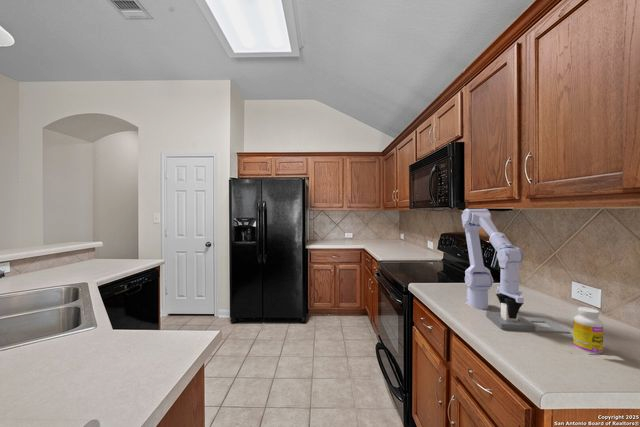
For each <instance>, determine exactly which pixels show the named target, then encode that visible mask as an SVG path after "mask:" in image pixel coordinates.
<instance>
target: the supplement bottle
mask: <svg viewBox="0 0 640 427" xmlns="http://www.w3.org/2000/svg"><path fill="white" fill-rule="evenodd" d="M577 312H578V314H576V315H575V316H573V327H572V328H573V332H572V333H573V334H572V335H573V337H572V345H573V346H574V347H575V348H577V349H579V350H580V351H584V352H588V353H589V355H590V356H601V355H602V354H601V353H604V322H603V321H602V320H601V319H600V318H599V316H600V311H599V310H597V309H595V308H591V307H586V306H585V307H584V306H579V307H578V308H577Z"/></svg>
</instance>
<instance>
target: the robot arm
mask: <svg viewBox="0 0 640 427" xmlns="http://www.w3.org/2000/svg"><path fill="white" fill-rule="evenodd" d="M491 218H492V214H491V213H490V210H489V209H487V208H465V209H464V210H463V211H462V214H461V222H462V228H463V229H464V231H465V237H466V238H465V240H466V245H467V251H468V259H469V265H470V266H469V267H468V268H466V269H465V271H464V274H465V276H464V282H465V285H466V286H467V289H466V302H464V304H465V305H469V307H471V308H474V309H477V310H487V309H488V308H489V290H491V287H493V284H494V278H493V276H492V274H491V270H490V269H489V268H488V267H486V266H485V264H484V258H483V252H482V246H481V240H480V234H479V230H480V229H483V230H484V231H485V233H487V235H488V236H489V240H488V241H489V243H490V244H491V245H492V247H493V248H494V250H495V251H496V252H497V253H496V258H497V261H498V265H499V266H498V267H499V268H500V276H499V277H500V279H499V280H500V282H499V284H500V285H497V286H496V291H497V292H499V293H496V297H497V300H498V301H499V304H500V306H501V303H506V304H507V308H508V315H509V318H513V319H516V317H517V314H519V311H520V308H522V306H523V305H524V301H525V300H524V297H523V296H522V294H523V292H522V291H520V263H522V262H523V260H524V252H523V250H522V249H521V248H520V247H518V246H516V245H513V244H512V243H511V241H510V240H509V239H508V237H507V236H506V235H505V233H504V232H499V230H498V228H497V227H496V225H495V224H494V222H493V220H492V219H491Z"/></svg>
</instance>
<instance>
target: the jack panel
mask: <svg viewBox="0 0 640 427" xmlns="http://www.w3.org/2000/svg"><path fill="white" fill-rule="evenodd" d="M485 317H486V318H487V319H488V320H489V321H491V322H492V324H494V325H495V326H497V328H499V329H500V330H501V331H502V330H503V331H518V332H519V331H520V332H521V331H522V332H536V333H537V332H538V333H556V334H571V331H570V330H568V329H566V328H565V327H563V326H561V325H559V324H557V323H556V322H554V321H552V320H551V319H549V318H547V317H530V316H527V317H526V316H522V315H520V314H519V313H518V321H505V320H504V319H503V318H501V311H488V310H487V311H485ZM535 323H541V324H542V323H544V324H546V325H547V326H540V325H539V326H538V325H537V324H535Z"/></svg>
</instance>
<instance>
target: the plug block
mask: <svg viewBox="0 0 640 427" xmlns="http://www.w3.org/2000/svg"><path fill="white" fill-rule="evenodd" d="M500 312H501V318H503V319H504V320H505V321H518V314H519V313H518V314H517V317H516V319H513V318H509V315H508V308H507V304H506V303H501V305H500Z"/></svg>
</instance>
